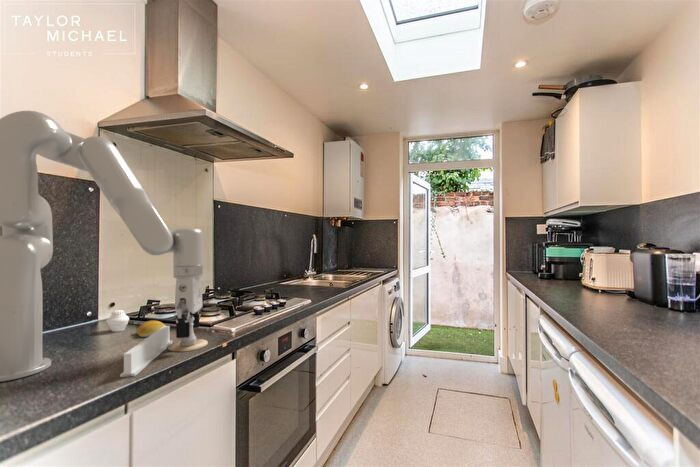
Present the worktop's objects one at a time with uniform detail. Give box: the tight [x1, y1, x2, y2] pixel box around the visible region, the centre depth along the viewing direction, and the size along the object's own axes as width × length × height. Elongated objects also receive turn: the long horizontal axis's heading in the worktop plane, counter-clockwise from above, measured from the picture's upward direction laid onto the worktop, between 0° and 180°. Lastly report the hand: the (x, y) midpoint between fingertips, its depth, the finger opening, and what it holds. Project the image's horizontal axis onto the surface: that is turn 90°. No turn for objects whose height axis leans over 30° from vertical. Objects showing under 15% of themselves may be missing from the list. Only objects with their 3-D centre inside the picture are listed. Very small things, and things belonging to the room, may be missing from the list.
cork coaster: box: [167, 338, 209, 353], centre depth 95 cm, size 10×10×1 cm
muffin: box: [106, 309, 130, 333], centre depth 111 cm, size 6×6×7 cm
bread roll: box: [136, 320, 167, 338], centre depth 108 cm, size 8×9×4 cm
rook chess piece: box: [179, 315, 197, 347], centre depth 95 cm, size 4×4×8 cm
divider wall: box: [119, 325, 173, 378], centre depth 86 cm, size 3×24×5 cm, turn 10°
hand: (188, 332), depth 95 cm, fingers open, 9 cm apart
